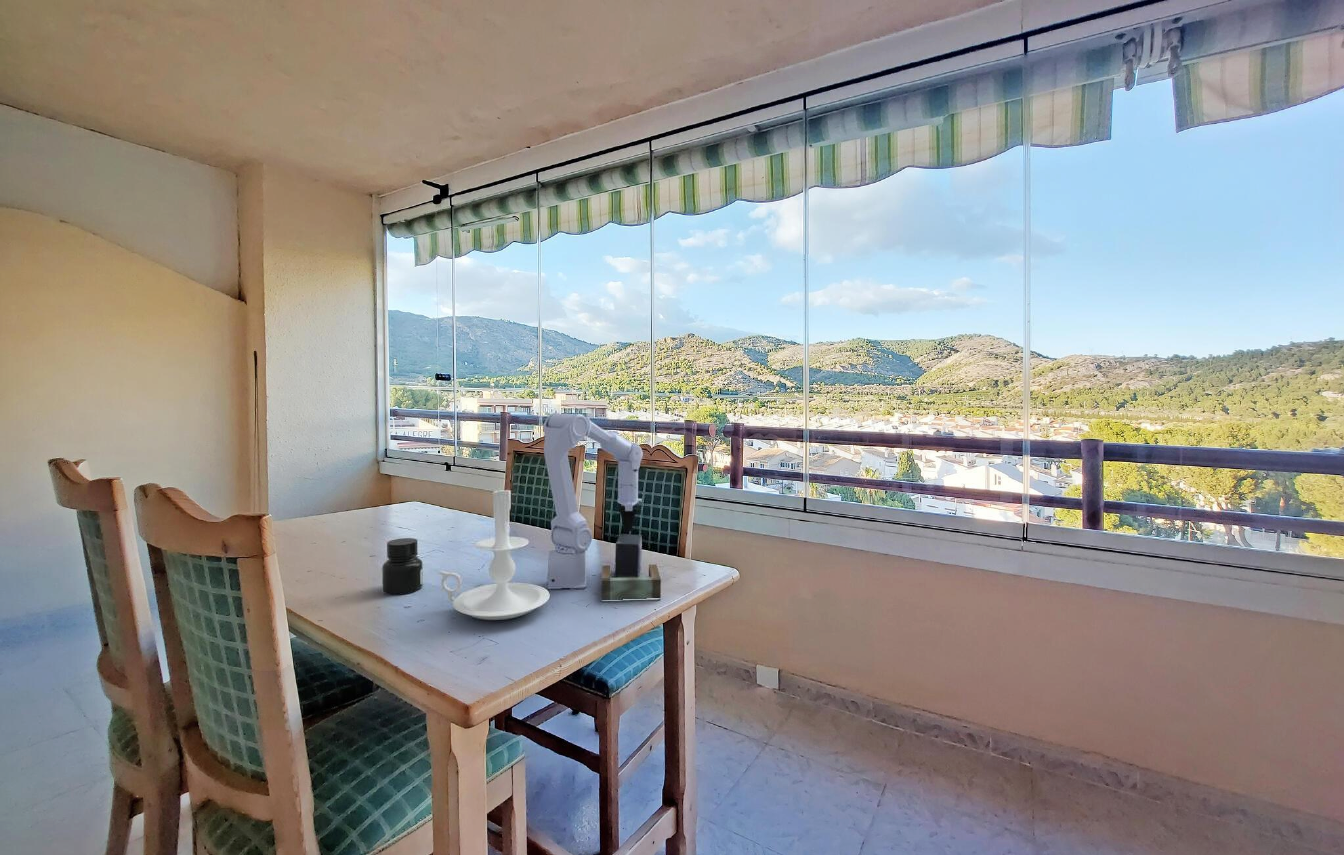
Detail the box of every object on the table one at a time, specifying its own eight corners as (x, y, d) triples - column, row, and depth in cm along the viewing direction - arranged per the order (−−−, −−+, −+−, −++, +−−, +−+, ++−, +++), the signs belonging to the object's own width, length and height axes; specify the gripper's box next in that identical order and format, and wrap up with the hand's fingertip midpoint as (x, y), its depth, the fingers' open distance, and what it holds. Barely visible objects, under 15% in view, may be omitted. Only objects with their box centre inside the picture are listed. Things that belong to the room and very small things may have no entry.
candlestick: (460, 592, 134) (460, 479, 133) (560, 597, 133) (560, 481, 131) (415, 627, 114) (414, 493, 112) (532, 633, 112) (532, 497, 111)
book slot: (601, 601, 130) (601, 580, 130) (602, 584, 142) (602, 565, 142) (660, 600, 131) (660, 579, 131) (656, 583, 143) (656, 564, 143)
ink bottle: (431, 587, 138) (431, 539, 138) (401, 598, 130) (400, 548, 130) (404, 581, 142) (403, 535, 142) (373, 591, 134) (372, 543, 134)
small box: (639, 583, 143) (639, 543, 143) (614, 583, 143) (614, 543, 143) (642, 570, 154) (642, 533, 153) (618, 570, 154) (619, 533, 153)
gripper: (643, 488, 151) (643, 536, 152) (640, 480, 166) (640, 524, 167) (617, 488, 151) (617, 537, 151) (617, 480, 165) (616, 525, 166)
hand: (627, 530), depth 159 cm, fingers closed
